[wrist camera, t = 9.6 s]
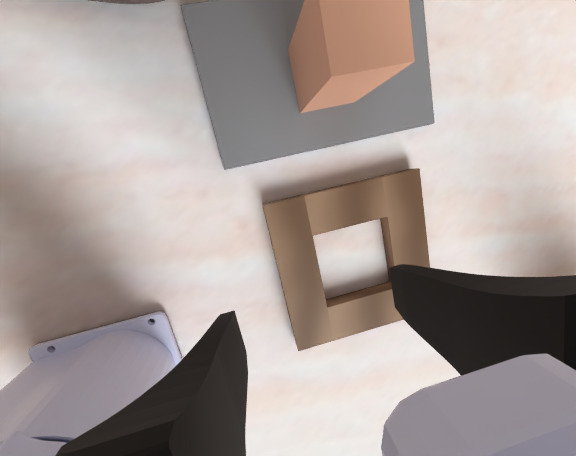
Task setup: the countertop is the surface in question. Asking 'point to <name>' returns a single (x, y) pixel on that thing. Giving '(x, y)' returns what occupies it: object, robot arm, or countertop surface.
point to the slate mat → (289, 84)
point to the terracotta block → (348, 49)
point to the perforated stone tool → (129, 1)
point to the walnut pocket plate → (335, 215)
